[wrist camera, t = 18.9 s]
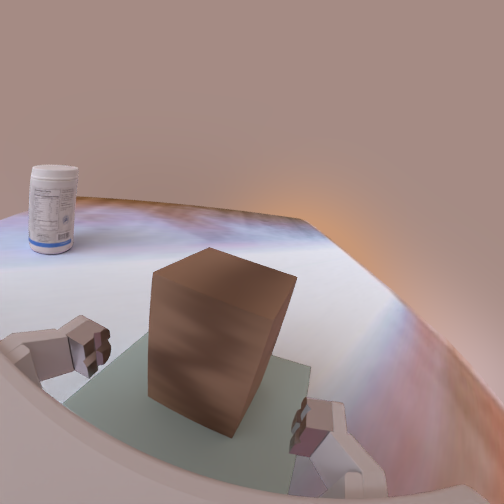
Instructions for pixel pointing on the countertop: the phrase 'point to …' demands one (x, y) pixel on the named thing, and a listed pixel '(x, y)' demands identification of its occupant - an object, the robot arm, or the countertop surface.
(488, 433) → the countertop surface
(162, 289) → the walnut box
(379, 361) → the countertop surface
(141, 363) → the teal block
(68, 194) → the supplement tub
